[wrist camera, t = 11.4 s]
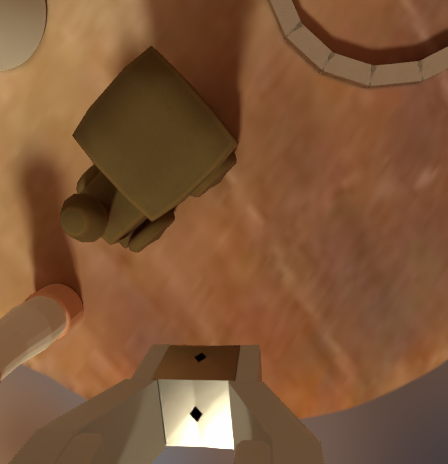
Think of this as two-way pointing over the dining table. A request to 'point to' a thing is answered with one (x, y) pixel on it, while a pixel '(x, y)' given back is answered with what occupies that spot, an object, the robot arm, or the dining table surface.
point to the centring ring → (350, 67)
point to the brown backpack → (145, 155)
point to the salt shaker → (37, 324)
